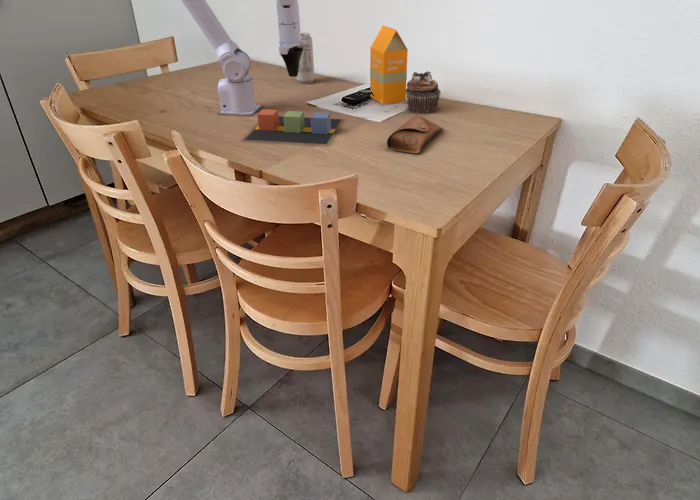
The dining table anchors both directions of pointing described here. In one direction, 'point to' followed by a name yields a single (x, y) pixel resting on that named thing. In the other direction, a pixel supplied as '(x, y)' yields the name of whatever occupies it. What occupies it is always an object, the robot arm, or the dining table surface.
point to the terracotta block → (268, 119)
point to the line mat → (294, 134)
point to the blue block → (320, 123)
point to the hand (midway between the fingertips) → (293, 76)
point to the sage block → (294, 121)
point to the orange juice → (388, 67)
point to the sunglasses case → (413, 135)
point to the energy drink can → (306, 61)
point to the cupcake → (422, 93)
